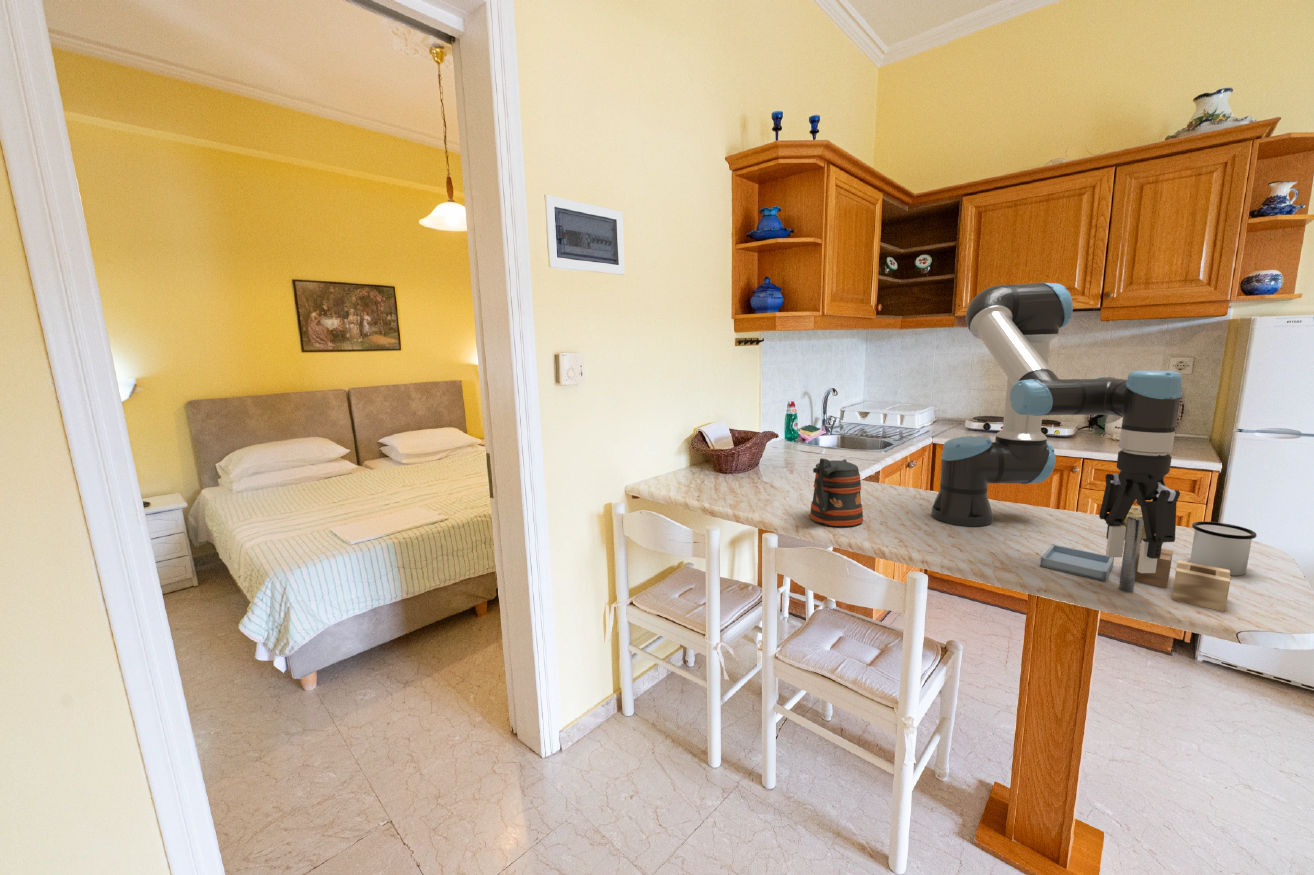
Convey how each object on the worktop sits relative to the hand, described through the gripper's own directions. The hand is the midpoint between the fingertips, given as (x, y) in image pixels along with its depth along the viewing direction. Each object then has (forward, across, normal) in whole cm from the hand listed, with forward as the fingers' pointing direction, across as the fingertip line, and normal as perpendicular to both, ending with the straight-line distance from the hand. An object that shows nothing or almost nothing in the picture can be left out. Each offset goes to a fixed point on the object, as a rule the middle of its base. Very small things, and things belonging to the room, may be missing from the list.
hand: (1129, 564), depth 103 cm
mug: (+6, +11, -28) cm, 31 cm away
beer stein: (+6, +44, +46) cm, 63 cm away
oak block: (+6, -4, -10) cm, 12 cm away
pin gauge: (+6, 0, 0) cm, 6 cm away
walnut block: (+6, +6, -8) cm, 12 cm away
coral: (+6, +29, -26) cm, 39 cm away
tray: (+6, +12, +1) cm, 13 cm away
